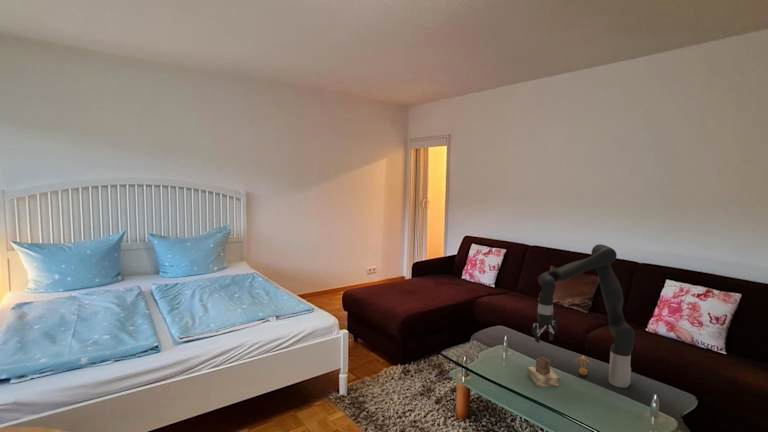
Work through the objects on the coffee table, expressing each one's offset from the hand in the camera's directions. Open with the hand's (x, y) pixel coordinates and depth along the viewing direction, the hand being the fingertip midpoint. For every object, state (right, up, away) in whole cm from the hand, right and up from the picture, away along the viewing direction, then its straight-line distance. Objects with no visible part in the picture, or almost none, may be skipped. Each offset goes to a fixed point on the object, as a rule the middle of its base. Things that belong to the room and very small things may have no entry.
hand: (544, 341), depth 209 cm
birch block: (0, -22, +3) cm, 23 cm away
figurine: (+24, -21, +7) cm, 33 cm away
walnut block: (0, -17, +2) cm, 18 cm away
